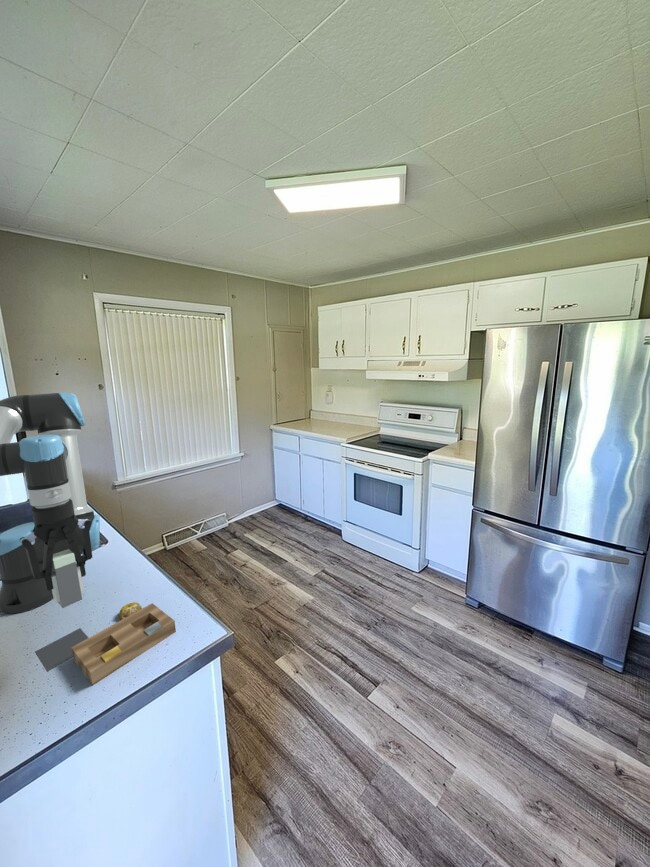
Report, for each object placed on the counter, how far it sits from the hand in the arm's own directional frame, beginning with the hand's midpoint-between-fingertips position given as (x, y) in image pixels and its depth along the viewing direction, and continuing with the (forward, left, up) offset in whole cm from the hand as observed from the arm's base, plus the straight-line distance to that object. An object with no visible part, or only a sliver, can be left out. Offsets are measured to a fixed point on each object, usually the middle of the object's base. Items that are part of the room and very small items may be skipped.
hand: (68, 594), depth 85 cm
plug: (0, 0, -2) cm, 2 cm away
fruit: (-3, +14, -18) cm, 23 cm away
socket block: (+7, +8, -17) cm, 20 cm away
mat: (-5, -2, -17) cm, 18 cm away
